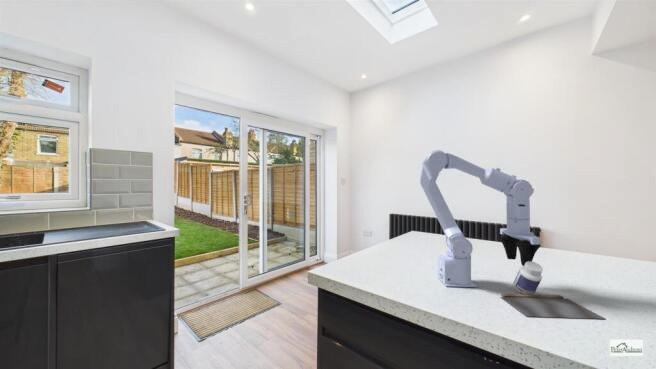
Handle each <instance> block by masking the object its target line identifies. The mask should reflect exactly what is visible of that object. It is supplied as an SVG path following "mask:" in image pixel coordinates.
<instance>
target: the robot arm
mask: <svg viewBox="0 0 656 369" xmlns="http://www.w3.org/2000/svg"><path fill="white" fill-rule="evenodd" d="M443 169H444V170H449V169H452V170H453V169H456V170H459V171H460V172H462V173H466V174H468V175H470V176H473V177H475V178H478V179H479V181H480V183H481V184H482V185H483V186H486V187H489V188H491V189H494V190H496V191H498V192H500V193H503V194H504V195H505V197H506V205H505V206H506V228H503V227H502V228H501V227H500V229H499V234H500V236H498V238H499V240H500V242H501V245H502V246H503V248H504V251H505V254H506V257H507V259H508V260H516V259H517V254H518V253H517V252H519V256H520V263H521V266H522V267H523V266H524V265H525V263H526V262H528V261H531V262H533V260H534V257H535V254H536V253H537V252H538V250H539V249H540V248H541V238H540V237H539V236H536V235H535V234H534V232H531V208H530V207H531V206H530V205H531V204H530V197H532V195H533V194H534V192H535V191H534V190H535V188H533V186H532V184H531V183H530V181H528V180H525V179H517V176H516V175H514V174H508V173H505V172H503V171H501V168H499V167H488V168H486V169H485V168H483V167H481V166H478V165H477V164H474V163H472V162H470V161H468V160H466V159H463V158H462V157H459V156H458V155H454V154H452V153H449V152H444V151H442V150H440V149H439V150H438V149H436V150H432V151H431V152H429V153H428V154H427V155H426V157H425V159H424V160H423V161H422V163H421V171H420V177H419V184H420V187H421V188H422V190H423V192H424V194H425V196H426V198H427V200H428V203H429V204H430V207H431V208H432V210H433V212H434V214H435V216H436V218H437V221H438V222H439V224H440V226H441V229H442V231H443V233H444V236H445V244H446V246H447V247H448V249H447V251H446V252H445V254H440V255H439V256H438V258H437V260H438V261H437V276H436V277H437V279H439V280H440V282H442V284H443V285H444V286H445V287H452V288H453V287H455V288H456V287H458V288H460V287H461V288H462V287H463V288H477V287H478V285H477V284H475V283H474V282H473V281H472V253H473V247H474V246H473V244H472V242H471V241H470V240H468V239H467V238H466V237H465V235H464V234H463V232H462V231H461V228H460V227H459V225H458V224H457V222H456V220H455V217H454V216H453V213H452V212H451V210H450V208H449V206H448V204H447V202H446V200H445V198H444V196H443V195H442V192H441V189H440V188H439V186H438V185H437V180H438V177H439V175H440V174H441V172H442V171H443ZM501 235H502V236H501Z"/></svg>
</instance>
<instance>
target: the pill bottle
mask: <svg viewBox="0 0 656 369" xmlns="http://www.w3.org/2000/svg"><path fill="white" fill-rule="evenodd" d="M543 270H544V269H543V266H541V264H539V263H537V262H535V261H532V262H531V261H528V262H526V263H525V265H524V266H522V267H521V266H520V268H519V270H518V272H517V275H516V277H515V278H514V280H513V282H512V283H513V287H514V289H515V290H516V291H517V292H519V294H531V295H535V293H536V292H537V289H538V287H539V286H540V284H541V281H542V278H543V275H542V273H543Z"/></svg>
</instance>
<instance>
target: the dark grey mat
mask: <svg viewBox="0 0 656 369" xmlns="http://www.w3.org/2000/svg"><path fill="white" fill-rule="evenodd" d="M500 294H501V296H500V299H502V300H503V301H504V302H506V303H507V304H508V305H510V306H511V307H512V308H514V309H515V310H516V311H518V312H519V313H520V314H522V315H523V316H524V317H526V318H546V319H547V318H549V319H551V318H552V319H576V320H577V319H579V320H580V319H581V320H606V317H603V316H601V315H599V314H598V313H596V312H594V311H592V310H590V309H588V308H586V307H585V306H583V305H581V304H579V303H576V302H575V301H573V300H571V299H569V298H565V297H564V296H562V295H557V294H533V295H531V294H522V293H500Z"/></svg>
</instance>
